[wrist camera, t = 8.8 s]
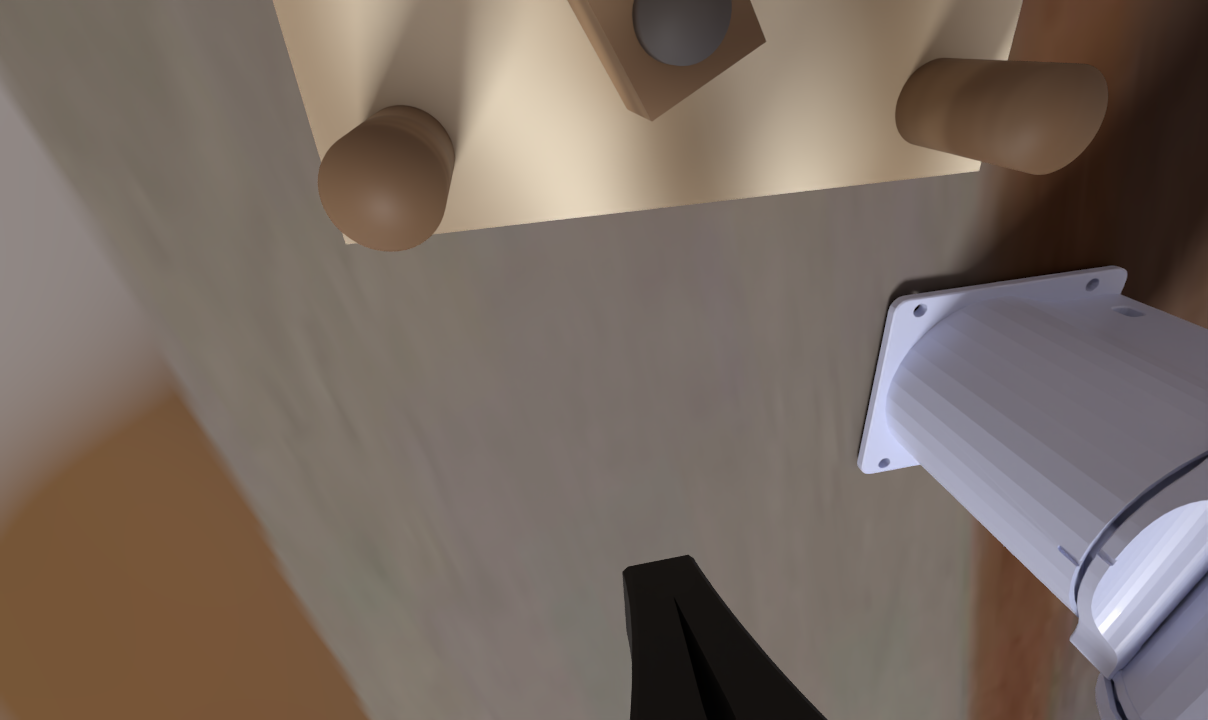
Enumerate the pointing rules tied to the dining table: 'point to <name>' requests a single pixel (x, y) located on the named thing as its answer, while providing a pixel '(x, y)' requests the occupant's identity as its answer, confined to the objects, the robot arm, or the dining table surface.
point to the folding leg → (667, 45)
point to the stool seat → (676, 138)
